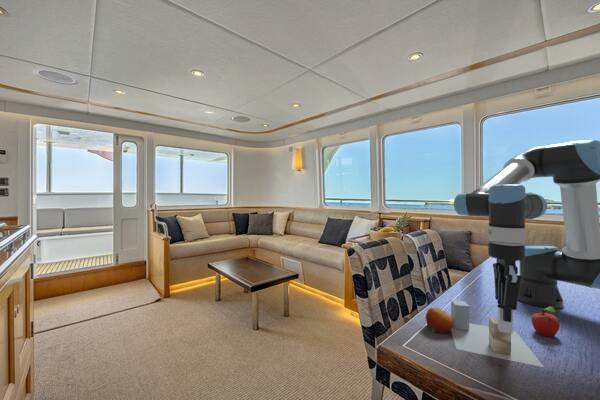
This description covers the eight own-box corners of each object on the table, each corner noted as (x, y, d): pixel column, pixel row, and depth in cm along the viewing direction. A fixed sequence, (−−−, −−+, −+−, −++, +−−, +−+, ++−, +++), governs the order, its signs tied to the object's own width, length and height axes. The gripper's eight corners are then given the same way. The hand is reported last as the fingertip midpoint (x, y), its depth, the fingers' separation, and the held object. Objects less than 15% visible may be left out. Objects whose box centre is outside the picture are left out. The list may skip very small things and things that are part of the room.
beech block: (505, 347, 72) (506, 319, 72) (510, 355, 68) (511, 326, 68) (488, 344, 74) (489, 317, 74) (492, 352, 70) (493, 323, 70)
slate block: (464, 325, 85) (464, 301, 85) (469, 331, 81) (469, 306, 81) (451, 323, 86) (451, 300, 86) (455, 329, 82) (455, 305, 82)
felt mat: (515, 332, 81) (515, 331, 81) (544, 369, 64) (544, 367, 64) (447, 320, 89) (447, 319, 89) (456, 350, 71) (456, 349, 71)
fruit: (415, 320, 86) (427, 300, 86) (434, 331, 86) (445, 311, 87) (429, 333, 78) (442, 310, 78) (450, 345, 78) (462, 323, 79)
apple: (524, 329, 83) (524, 299, 83) (543, 329, 83) (543, 298, 83) (548, 343, 75) (549, 309, 75) (569, 342, 76) (570, 309, 76)
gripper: (482, 238, 75) (481, 318, 75) (496, 246, 63) (495, 340, 63) (514, 240, 72) (513, 323, 72) (535, 248, 60) (534, 348, 60)
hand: (505, 331), depth 67 cm, fingers closed
